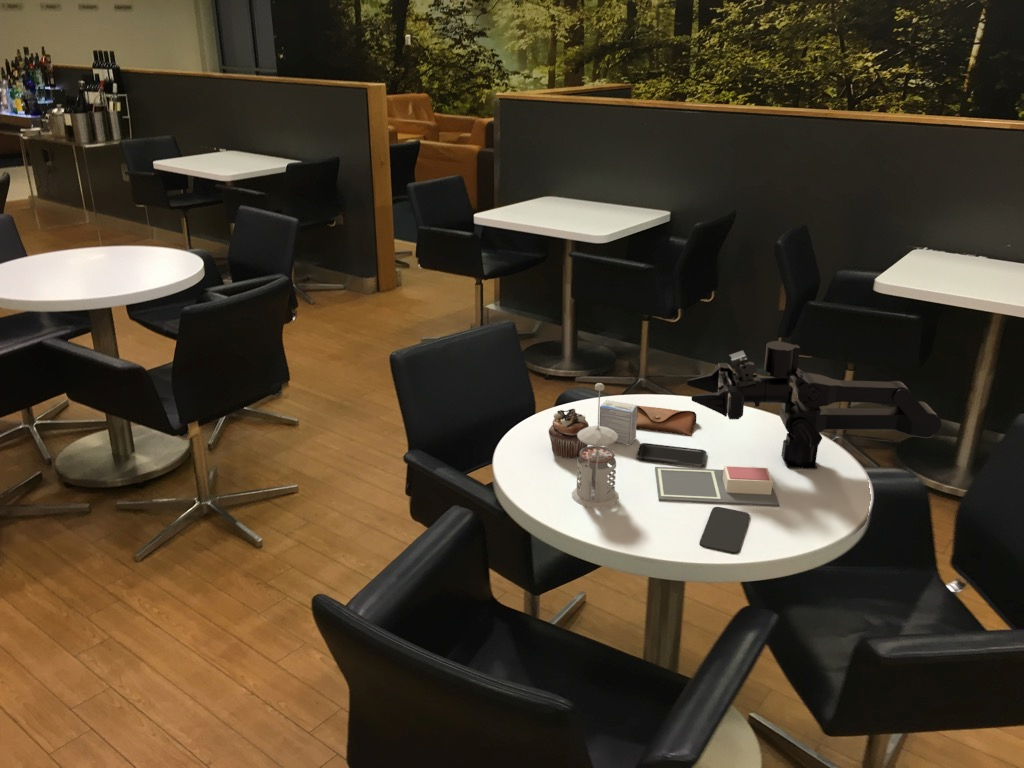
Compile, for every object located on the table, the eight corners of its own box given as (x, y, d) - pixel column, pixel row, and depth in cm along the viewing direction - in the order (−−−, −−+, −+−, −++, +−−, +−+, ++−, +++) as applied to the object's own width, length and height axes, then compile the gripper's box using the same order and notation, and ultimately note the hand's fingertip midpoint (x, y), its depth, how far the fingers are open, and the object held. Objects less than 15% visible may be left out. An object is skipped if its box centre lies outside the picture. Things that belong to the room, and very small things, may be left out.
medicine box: (636, 438, 199) (638, 404, 196) (630, 446, 195) (632, 411, 192) (604, 432, 202) (605, 399, 199) (598, 439, 198) (599, 406, 195)
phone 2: (640, 442, 195) (706, 450, 192) (640, 446, 196) (706, 454, 192) (635, 457, 188) (704, 465, 185) (635, 462, 189) (704, 470, 185)
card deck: (765, 480, 179) (767, 467, 178) (770, 494, 174) (772, 481, 172) (722, 478, 180) (723, 465, 179) (726, 492, 174) (727, 479, 173)
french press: (621, 486, 178) (627, 376, 168) (615, 514, 167) (621, 398, 158) (575, 481, 180) (578, 372, 170) (566, 509, 169) (569, 394, 160)
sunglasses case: (618, 427, 204) (621, 400, 205) (621, 430, 211) (624, 404, 212) (694, 436, 200) (697, 408, 201) (694, 439, 206) (697, 412, 207)
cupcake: (599, 452, 192) (600, 412, 188) (565, 464, 187) (566, 423, 183) (572, 437, 200) (573, 398, 196) (539, 448, 194) (540, 408, 191)
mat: (767, 473, 183) (767, 471, 183) (779, 506, 170) (779, 504, 170) (654, 468, 185) (655, 466, 185) (658, 500, 172) (658, 498, 172)
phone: (697, 544, 157) (713, 505, 169) (697, 548, 157) (712, 509, 170) (738, 553, 154) (751, 512, 167) (738, 557, 154) (750, 516, 167)
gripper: (757, 340, 188) (685, 341, 189) (774, 369, 170) (695, 370, 172) (753, 387, 192) (684, 387, 193) (770, 420, 174) (693, 420, 176)
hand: (689, 390), depth 183 cm, fingers open, 9 cm apart
